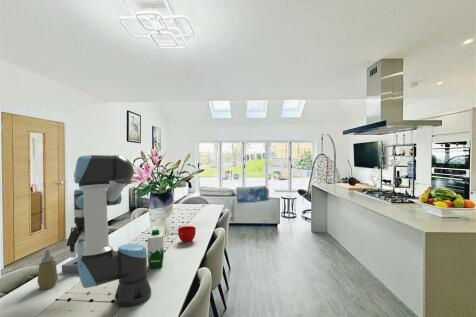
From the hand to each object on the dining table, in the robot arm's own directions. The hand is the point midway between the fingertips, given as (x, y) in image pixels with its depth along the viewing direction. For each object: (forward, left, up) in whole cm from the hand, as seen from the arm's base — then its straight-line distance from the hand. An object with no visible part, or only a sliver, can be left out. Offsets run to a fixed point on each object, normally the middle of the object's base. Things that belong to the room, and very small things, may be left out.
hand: (82, 252), depth 145 cm
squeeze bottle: (-21, +2, -9) cm, 23 cm away
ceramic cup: (+48, -45, -9) cm, 66 cm away
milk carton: (+7, -41, -9) cm, 43 cm away
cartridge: (0, 0, -9) cm, 9 cm away
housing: (+6, 0, -9) cm, 11 cm away
